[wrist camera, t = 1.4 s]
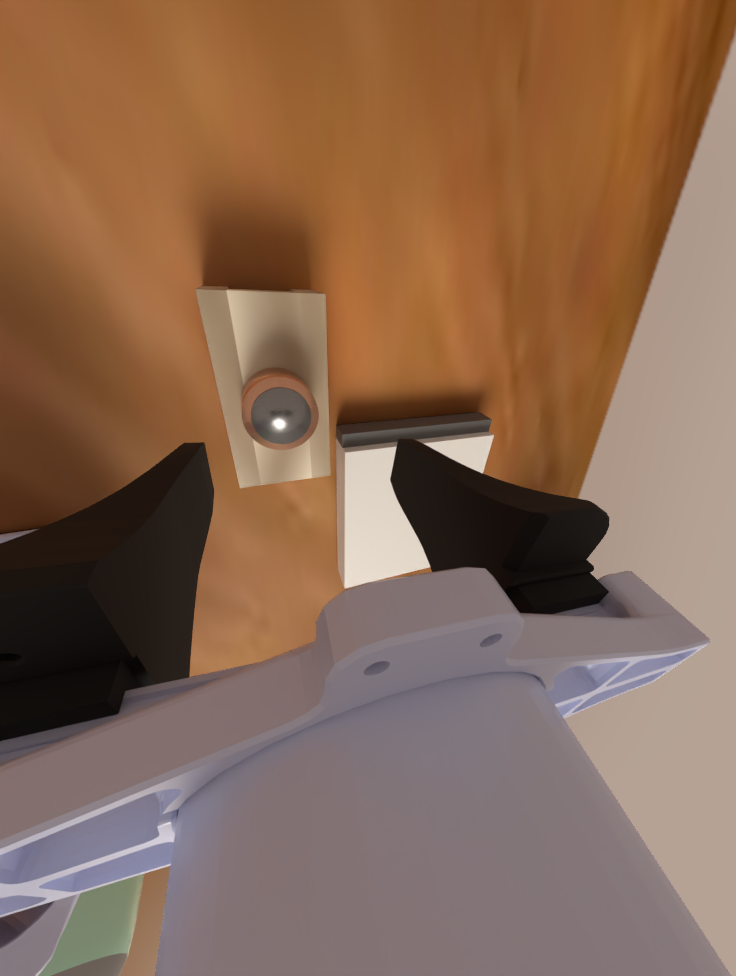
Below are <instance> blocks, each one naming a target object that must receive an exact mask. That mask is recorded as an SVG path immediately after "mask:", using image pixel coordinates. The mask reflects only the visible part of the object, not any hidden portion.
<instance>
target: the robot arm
mask: <svg viewBox="0 0 736 976" xmlns="http://www.w3.org/2000/svg"><path fill="white" fill-rule="evenodd" d="M390 481H391V484H392V487H393V490H394V493H395V496H396V498H397V500H398V502H399V504H400V506H401V508H402V510H403V512H404V514H405V515H406V517H407V519H408V521H409V523H410V525H411V526H412V528H413V530H414V532H415V534H416V535H417V537H418V539H419V541H420V543H421V545H422V547H423V550H424V552H425V555H426V557H427V560H428V562H429V565H430V567H431V570H432V572H430V573H424V574H418V575H411V576H405V577H399V578H392V579H386V580H380V581H373V582H367V583H364V584H361V585H358V586H355V587H352V588H349V589H346V590H344V591H343V592H341V593H340V594H339V595H337V596H336V597H334V598H333V599H332V600H330V601H329V602H328V603H327V604H326V605H325V606H324V607H323V609H322V611H321V613H320V616H319V618H318V620H317V622H316V638H315V641H313V642H311V643H308V644H306V645H303V646H301V647H298V648H296V649H293V650H290V651H288V652H285V653H283V654H280V655H278V656H275V657H273V658H270V659H267V660H265V661H262V662H259V663H254V664H249V665H245V666H240V667H235V668H231V669H226V670H221V671H217V672H212V673H207V674H202V675H198V676H193V677H189V672H190V656H191V643H192V630H193V619H194V608H195V598H196V590H197V581H198V574H199V568H200V563H201V559H202V555H203V551H204V547H205V543H206V539H207V534H208V530H209V526H210V522H211V517H212V512H213V499H214V488H213V483H212V478H211V473H210V468H209V463H208V458H207V454H206V449H205V444H204V443H184V444H182V445H181V446H179V447H178V448H177V449H176V450H174V451H173V452H172V453H170V454H169V455H168V456H167V457H165V458H164V459H163V460H162V461H160V462H159V463H158V464H156V465H155V466H154V467H153V468H151V469H150V470H149V471H147V472H146V473H144V474H143V475H141V476H140V477H138V478H137V479H135V480H134V481H133V482H131V483H130V484H128V485H127V486H125V487H124V488H122V489H120V490H119V491H117V492H115V493H114V494H112V495H110V496H108V497H107V498H105V499H103V500H101V501H99V502H97V503H96V504H94V505H92V506H90V507H88V508H85V509H83V510H81V511H79V512H77V513H75V514H72V515H70V516H68V517H66V518H64V519H62V520H60V521H57V522H55V523H53V524H50V525H48V526H45V527H43V528H40V529H35V530H28V531H21V532H15V533H8V534H1V535H0V976H38V975H39V974H40V973H41V971H42V970H43V969H44V968H45V967H46V965H47V964H48V963H49V961H50V960H51V959H52V957H53V954H54V952H55V949H56V947H57V944H58V942H59V939H60V937H61V935H62V933H63V931H64V930H65V927H66V925H67V923H68V921H69V918H70V916H71V914H72V911H73V909H74V907H75V905H76V902H77V900H78V898H79V896H80V894H81V893H82V892H85V891H88V890H92V889H95V888H98V887H102V886H105V885H108V884H111V883H115V882H118V881H121V880H124V879H128V878H131V877H134V876H138V875H141V874H144V873H147V872H150V871H154V870H157V869H160V868H163V867H167V866H170V873H169V879H168V887H167V894H166V901H165V908H164V915H163V922H162V929H161V936H160V943H159V950H158V957H157V964H156V971H155V976H731V975H730V973H729V972H728V970H727V969H726V967H725V966H724V964H723V963H722V961H721V959H720V958H719V956H718V955H717V953H716V952H715V950H714V949H713V947H712V946H711V944H710V943H709V941H708V939H707V938H706V936H705V935H704V933H703V932H702V930H701V929H700V928H699V926H698V924H697V923H696V921H695V919H694V918H693V917H692V915H691V913H690V912H689V910H688V909H687V907H686V906H685V904H684V903H683V901H682V899H681V898H680V897H679V895H678V894H677V892H676V890H675V889H674V887H673V886H672V884H671V883H670V881H669V880H668V878H667V876H666V875H665V874H664V872H663V870H662V869H661V867H660V866H659V864H658V863H657V861H656V859H655V858H654V856H653V855H652V853H651V852H650V850H649V849H648V848H647V846H646V844H645V843H644V841H643V840H642V838H641V836H640V835H639V833H638V832H637V831H636V829H635V827H634V826H633V824H632V823H631V821H630V820H629V818H628V817H627V815H626V814H625V812H624V810H623V809H622V807H621V806H620V804H619V803H618V801H617V800H616V798H615V796H614V795H613V794H612V792H611V790H610V789H609V787H608V786H607V784H606V783H605V781H604V780H603V778H602V776H601V775H600V774H599V772H598V770H597V769H596V767H595V766H594V764H593V763H592V761H591V760H590V758H589V756H588V755H587V753H586V752H585V750H584V749H583V747H582V746H581V744H580V743H579V741H578V740H577V738H576V737H575V735H574V733H573V732H572V730H571V729H570V727H569V726H568V724H567V723H566V721H565V720H564V718H566V717H568V716H571V715H573V714H575V713H577V712H580V711H582V710H584V709H587V708H589V707H591V706H594V705H596V704H598V703H601V702H603V701H606V700H608V699H610V698H613V697H615V696H618V695H620V694H623V693H625V692H628V691H630V690H633V689H636V688H638V687H641V686H644V685H646V684H649V683H652V682H654V681H655V680H657V679H658V678H660V677H661V676H662V675H663V674H665V673H667V672H668V671H670V670H671V669H673V668H674V667H676V666H677V665H679V664H680V663H681V662H683V661H684V660H686V659H687V658H689V657H690V656H692V655H693V654H694V653H696V652H698V651H699V650H700V649H702V648H703V647H705V646H706V645H708V644H709V643H710V639H709V638H708V637H707V636H706V635H705V634H704V633H702V632H701V631H700V630H699V629H698V628H697V627H695V626H694V625H693V624H692V623H691V622H690V621H688V620H687V619H686V618H685V617H684V616H683V615H682V614H680V613H679V612H678V611H677V610H676V609H675V608H673V607H672V606H671V605H670V604H669V603H668V602H666V601H665V600H664V599H663V598H662V597H661V596H660V595H658V594H657V593H656V592H655V591H654V590H653V589H651V588H650V587H649V586H648V585H647V584H646V583H645V582H643V581H642V580H641V579H640V578H639V577H638V576H636V575H635V574H634V573H633V572H632V571H625V572H620V573H615V574H610V575H606V576H603V577H601V578H600V579H598V580H597V579H596V578H595V577H594V576H593V575H591V573H590V572H592V571H593V570H594V567H593V565H592V564H591V563H589V562H588V561H587V560H586V559H587V558H588V557H589V555H590V554H591V553H592V552H593V550H594V549H595V548H596V546H597V545H598V544H599V543H600V541H601V540H602V539H603V537H604V535H605V534H606V532H607V530H608V527H609V517H608V515H607V513H606V512H604V511H603V510H602V509H600V508H599V507H598V506H597V505H595V504H594V503H592V502H590V501H588V500H581V499H576V498H570V497H564V496H558V495H553V494H548V493H544V492H539V491H535V490H531V489H527V488H523V487H520V486H517V485H513V484H510V483H507V482H504V481H501V480H498V479H495V478H493V477H490V476H488V475H485V474H483V473H480V472H478V471H475V470H473V469H471V468H469V467H467V466H465V465H463V464H461V463H459V462H457V461H455V460H453V459H451V458H449V457H447V456H445V455H443V454H442V453H440V452H438V451H436V450H434V449H432V448H431V447H429V446H427V445H425V444H423V443H421V442H419V441H417V440H414V439H398V442H397V447H396V452H395V457H394V462H393V468H392V473H391V478H390Z"/></svg>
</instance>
